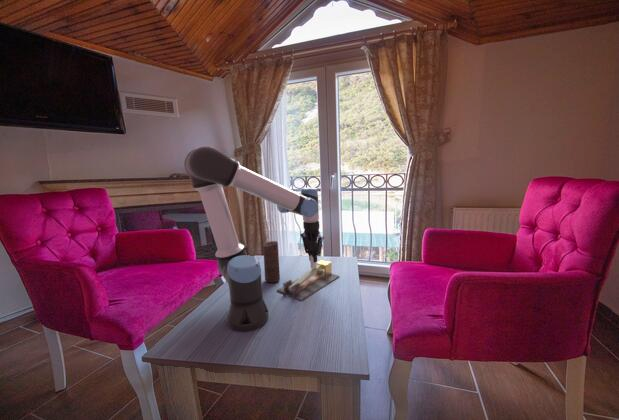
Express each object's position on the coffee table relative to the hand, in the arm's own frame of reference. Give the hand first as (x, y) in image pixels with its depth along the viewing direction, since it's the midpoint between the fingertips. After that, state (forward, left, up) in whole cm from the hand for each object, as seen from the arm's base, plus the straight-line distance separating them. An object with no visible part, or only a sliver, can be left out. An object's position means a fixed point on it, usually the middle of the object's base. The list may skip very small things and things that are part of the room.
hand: (313, 267), depth 128 cm
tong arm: (-6, 0, -3) cm, 7 cm away
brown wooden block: (-12, +17, -7) cm, 22 cm away
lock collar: (+8, 0, -7) cm, 11 cm away
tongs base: (-3, 0, -7) cm, 8 cm away
